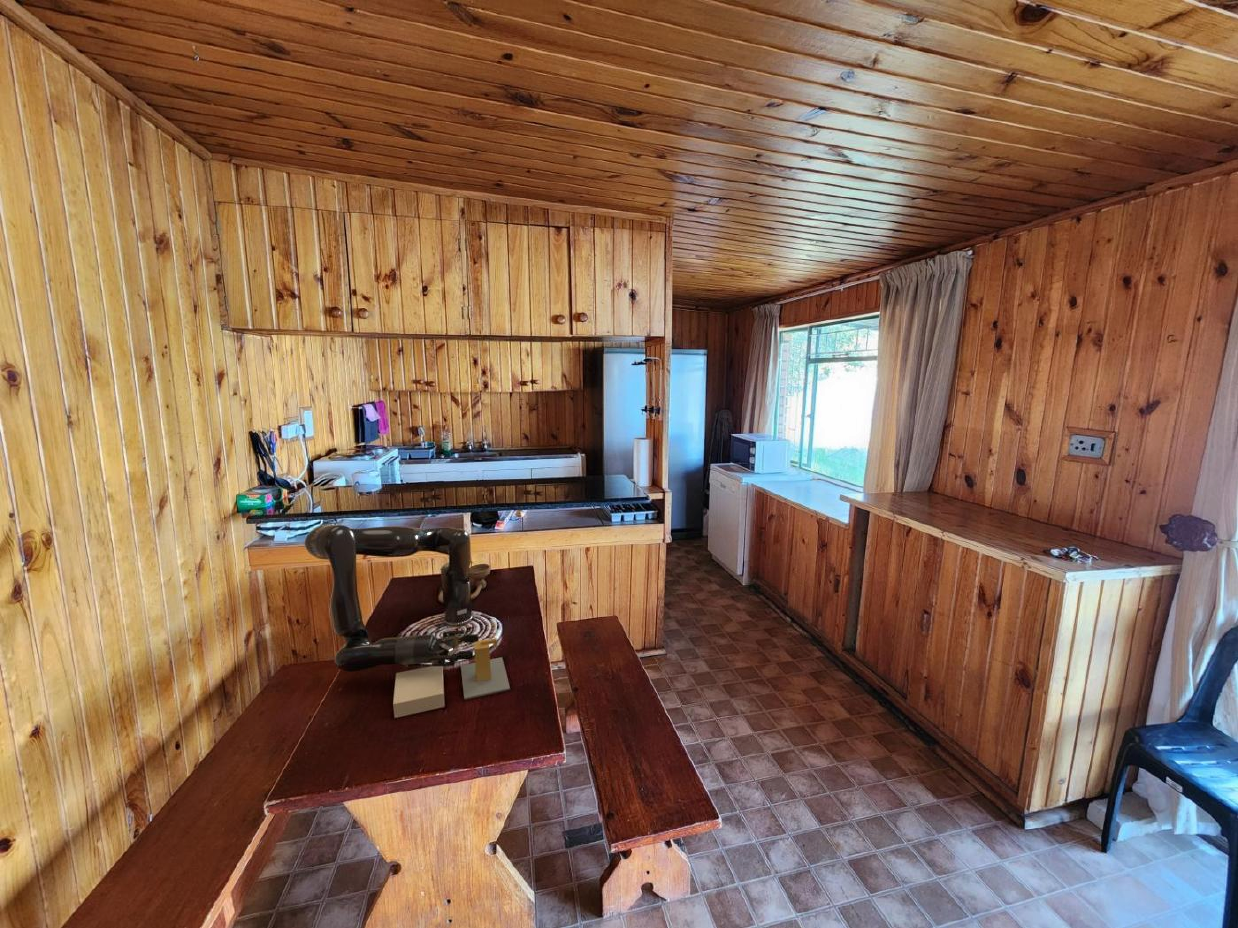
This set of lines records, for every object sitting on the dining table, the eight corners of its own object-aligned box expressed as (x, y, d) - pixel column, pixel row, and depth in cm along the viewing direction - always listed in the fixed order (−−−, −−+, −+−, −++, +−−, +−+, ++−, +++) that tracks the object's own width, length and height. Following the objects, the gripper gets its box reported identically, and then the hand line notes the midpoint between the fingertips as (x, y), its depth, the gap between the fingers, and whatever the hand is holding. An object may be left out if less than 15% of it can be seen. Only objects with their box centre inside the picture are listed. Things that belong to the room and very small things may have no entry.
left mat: (460, 667, 149) (460, 665, 149) (502, 658, 153) (502, 656, 153) (464, 700, 134) (464, 698, 134) (510, 689, 138) (509, 687, 138)
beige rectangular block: (397, 685, 140) (396, 672, 139) (443, 676, 144) (442, 663, 143) (394, 718, 127) (393, 703, 126) (444, 706, 131) (443, 693, 131)
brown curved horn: (434, 610, 186) (486, 604, 187) (430, 588, 184) (483, 582, 186) (449, 583, 209) (496, 577, 211) (446, 563, 208) (493, 558, 209)
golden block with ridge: (476, 673, 144) (473, 638, 142) (498, 670, 146) (496, 635, 144) (476, 681, 141) (474, 645, 139) (499, 678, 142) (497, 642, 140)
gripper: (406, 651, 132) (470, 647, 134) (422, 624, 146) (479, 621, 148) (409, 677, 134) (471, 673, 135) (424, 647, 147) (480, 644, 149)
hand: (475, 646), depth 141 cm, fingers open, 8 cm apart
